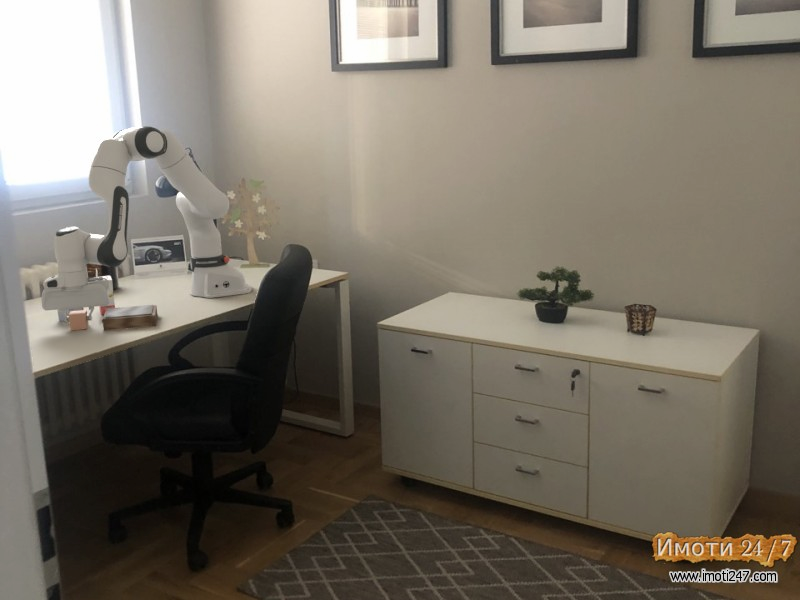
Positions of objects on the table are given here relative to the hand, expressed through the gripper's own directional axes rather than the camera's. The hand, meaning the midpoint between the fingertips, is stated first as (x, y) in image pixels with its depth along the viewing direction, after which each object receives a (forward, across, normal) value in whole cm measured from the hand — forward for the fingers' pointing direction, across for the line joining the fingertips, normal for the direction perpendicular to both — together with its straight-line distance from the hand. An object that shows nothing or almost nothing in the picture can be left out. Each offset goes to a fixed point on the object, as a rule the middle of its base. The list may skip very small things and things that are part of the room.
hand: (78, 321), depth 271 cm
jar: (+3, -2, -57) cm, 57 cm away
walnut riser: (+2, -16, -1) cm, 16 cm away
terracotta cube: (+2, 0, 0) cm, 2 cm away
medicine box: (+3, +4, -14) cm, 15 cm away
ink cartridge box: (+3, -7, -20) cm, 21 cm away
